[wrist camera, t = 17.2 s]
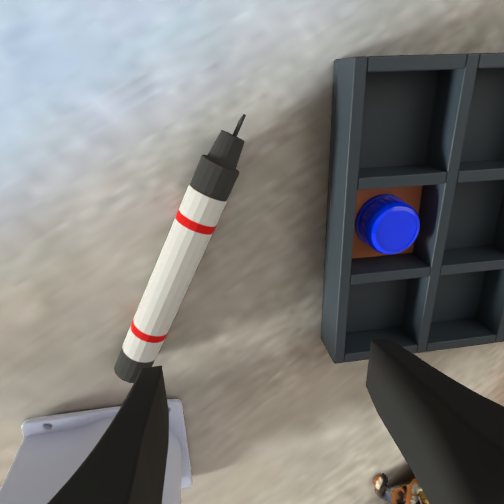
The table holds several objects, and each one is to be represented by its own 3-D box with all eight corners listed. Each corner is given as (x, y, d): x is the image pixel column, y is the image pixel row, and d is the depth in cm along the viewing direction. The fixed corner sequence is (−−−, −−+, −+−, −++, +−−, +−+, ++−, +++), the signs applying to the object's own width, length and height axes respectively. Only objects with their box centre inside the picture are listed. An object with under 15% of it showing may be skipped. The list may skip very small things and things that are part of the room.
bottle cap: (396, 183, 21) (413, 191, 19) (414, 228, 22) (431, 239, 20) (346, 212, 21) (359, 223, 19) (367, 255, 22) (380, 268, 21)
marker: (149, 363, 24) (146, 387, 22) (117, 355, 23) (110, 378, 21) (258, 121, 19) (265, 125, 17) (221, 102, 18) (224, 104, 17)
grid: (320, 338, 25) (334, 364, 23) (333, 59, 18) (354, 56, 16) (544, 311, 27) (577, 332, 25) (626, 51, 20) (681, 47, 18)
